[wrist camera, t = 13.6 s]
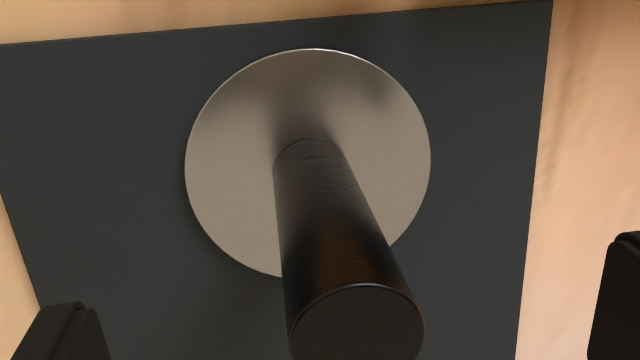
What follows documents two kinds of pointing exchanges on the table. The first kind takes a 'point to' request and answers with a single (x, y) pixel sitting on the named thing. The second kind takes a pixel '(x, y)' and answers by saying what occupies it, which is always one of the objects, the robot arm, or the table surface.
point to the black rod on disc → (317, 194)
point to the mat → (176, 211)
